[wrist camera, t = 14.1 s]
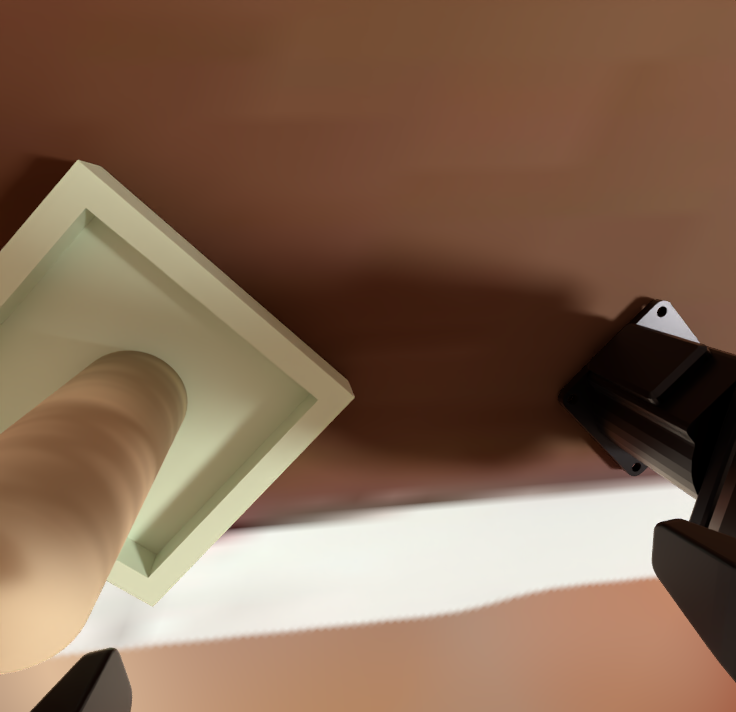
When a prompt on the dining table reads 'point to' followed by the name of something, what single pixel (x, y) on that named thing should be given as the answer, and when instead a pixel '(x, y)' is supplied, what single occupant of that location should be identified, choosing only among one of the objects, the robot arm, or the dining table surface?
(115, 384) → the pin
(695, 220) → the dining table surface
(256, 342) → the tray
